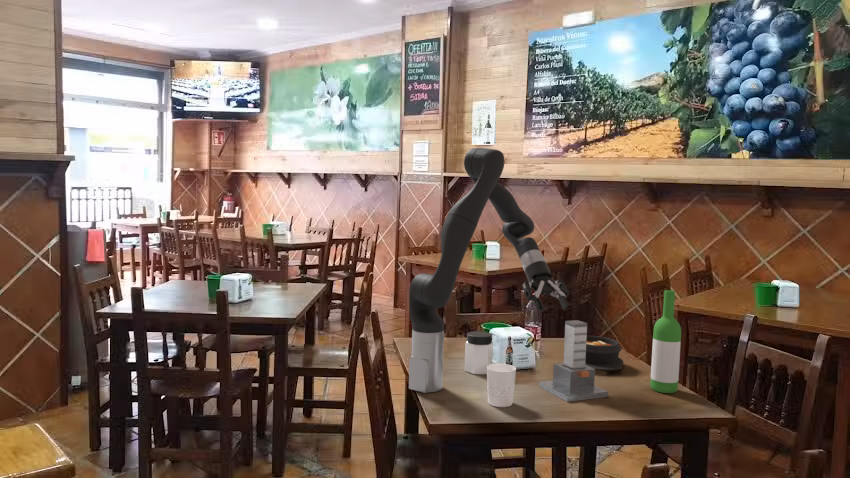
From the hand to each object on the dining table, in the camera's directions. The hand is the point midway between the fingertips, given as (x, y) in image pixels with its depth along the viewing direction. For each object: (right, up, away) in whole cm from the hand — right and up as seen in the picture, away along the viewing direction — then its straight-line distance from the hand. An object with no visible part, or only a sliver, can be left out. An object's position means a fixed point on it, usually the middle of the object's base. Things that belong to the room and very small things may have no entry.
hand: (554, 309), depth 194 cm
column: (+4, -21, -9) cm, 23 cm away
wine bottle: (+32, -24, -4) cm, 40 cm away
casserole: (+18, -21, +21) cm, 35 cm away
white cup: (-19, -24, -20) cm, 36 cm away
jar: (-22, -21, +10) cm, 32 cm away
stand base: (+4, -23, -8) cm, 25 cm away
